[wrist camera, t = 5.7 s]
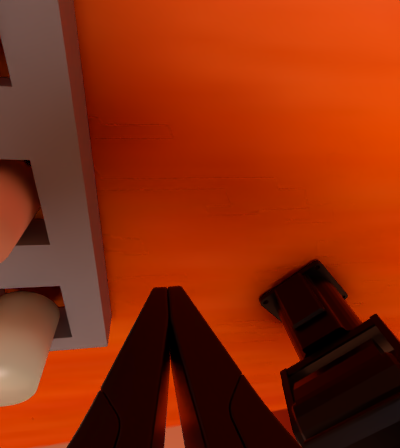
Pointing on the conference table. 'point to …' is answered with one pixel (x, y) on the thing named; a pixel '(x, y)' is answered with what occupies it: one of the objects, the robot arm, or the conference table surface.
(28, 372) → the button sage
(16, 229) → the button terracotta
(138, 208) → the conference table surface
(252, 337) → the conference table surface
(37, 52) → the button board
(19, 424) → the conference table surface
